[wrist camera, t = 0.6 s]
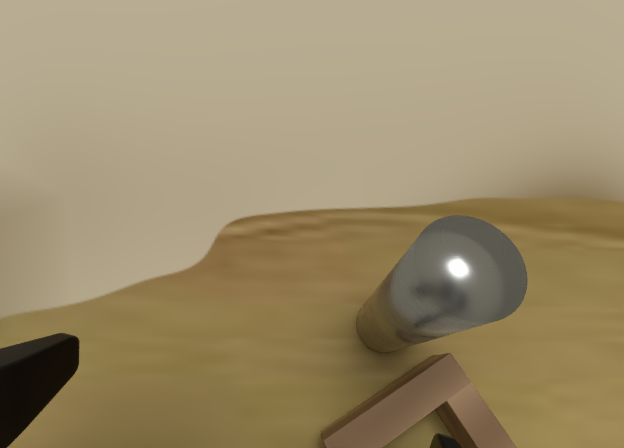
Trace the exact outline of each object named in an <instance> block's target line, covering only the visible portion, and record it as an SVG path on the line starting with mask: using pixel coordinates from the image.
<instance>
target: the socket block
mask: <svg viewBox="0 0 624 448" xmlns="http://www.w3.org/2000/svg"><path fill="white" fill-rule="evenodd" d="M435 409H436V411H437V412H438V414H439V415H440V417H441V419H442V420H443V422H444V423H445V425H446V426H447V428H448V430H449V431H450V433H451V434H452V436H453V437H454V438H455V439H456V440H457V441H458V442H459V444H460V445H461V446H462V447H463V448H517V447H516V446H515V444H514V443H513V441H512V440H511V438H510V437H509V436H508V434H507V433H506V431H505V430H504V429H503V427H502V426H501V424H500V423H499V421H498V420H497V419H496V417H495V416H494V414H493V413H492V411H491V410H490V409H489V407H488V406H487V404H486V403H485V401H484V400H483V399H482V397H481V396H480V394H479V393H478V391H477V390H476V389H475V387H474V386H473V384H472V383H471V381H470V380H469V379H468V377H467V376H466V374H465V373H464V371H463V370H462V369H461V367H460V366H459V364H458V363H457V362H456V360H455V359H454V357H453V356H452V354H451V353H447V354H441V355H434V356H431V357H430V358H428V359H427V360H425V361H424V362H422V363H421V364H419V365H418V366H416V367H415V368H413V369H412V370H410V371H409V372H408V373H406V374H405V375H403V376H402V377H400V378H399V379H397V380H396V381H394V382H393V383H391V384H390V385H388V386H387V387H386V388H384V389H383V390H381V391H380V392H378V393H377V394H375V395H374V396H372V397H371V398H369V399H368V400H366V401H365V402H364V403H362V404H361V405H359V406H358V407H356V408H355V409H353V410H352V411H350V412H349V413H347V414H346V415H344V416H343V417H342V418H340V419H339V420H337V421H336V422H334V423H333V424H331V425H330V426H328V427H327V428H325V429H324V430H323V431H321V434H322V438H323V442H324V444H325V446H326V448H383V447H384V446H385V445H387V444H388V443H389V442H391V441H392V440H394V439H395V438H396V437H398V436H399V435H400V434H402V433H403V432H405V431H406V430H407V429H409V428H410V427H411V426H413V425H414V424H415V423H417V422H418V421H420V420H421V419H422V418H424V417H425V416H426V415H428V414H429V413H430V412H432V411H433V410H435Z"/></svg>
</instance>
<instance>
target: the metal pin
mask: <svg viewBox="0 0 624 448" xmlns="http://www.w3.org/2000/svg"><path fill="white" fill-rule="evenodd" d="M526 289H527V272H526V267H525V264H524V261H523V259H522V257H521V255H520V253H519V251H518V249H517V248H516V246H515V245H514V244H513V243H512V241H511V240H510V239H509V238H508V237H507V236H506V235H505V234H504V233H502V232H501V231H500V230H499V229H497V228H496V227H494V226H493V225H491V224H489V223H487V222H485V221H482V220H480V219H477V218H473V217H469V216H448V217H444V218H441V219H438V220H436V221H434V222H433V223H431V224H430V225H428V226H427V227H426V228H425V229H424V230H423V232H422V233H421V234H420V235H419V237H418V238H417V239H416V240H415V242H414V243H413V244H412V245H411V247H410V248H409V249H408V250H407V252H406V253H405V254H404V255H403V257H402V258H401V259H400V260H399V262H398V263H397V264H396V265H395V267H394V268H393V269H392V270H391V272H390V273H389V274H388V275H387V277H386V278H385V279H384V280H383V282H382V283H381V284H380V285H379V287H378V288H377V289H376V290H375V292H374V293H373V294H372V295H371V297H370V298H369V299H368V300H367V302H366V303H365V304H364V305H363V307H362V308H361V309H360V311H359V313H358V316H357V321H356V326H357V331H358V334H359V336H360V338H361V340H362V341H363V342H364V343H365V344H366V345H367V346H368V347H369V348H371V349H373V350H375V351H378V352H391V351H394V350H398V349H401V348H405V347H408V346H412V345H415V344H419V343H422V342H425V341H429V340H432V339H436V338H439V337H443V336H446V335H450V334H453V333H456V332H460V331H463V330H467V329H470V328H474V327H477V326H481V325H484V324H488V323H491V322H494V321H498V320H500V319H503V318H505V317H507V316H509V315H510V314H512V313H513V312H514V311H515V310H516V309H517V308H518V307H519V306H520V304H521V303H522V301H523V299H524V296H525V294H526Z"/></svg>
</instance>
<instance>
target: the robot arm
mask: <svg viewBox="0 0 624 448" xmlns="http://www.w3.org/2000/svg"><path fill="white" fill-rule="evenodd" d="M78 365H79V339H78V337H76V336H73V335H69V334H66V333H58V334H54V335H51V336H47V337H43V338H39V339H35V340H32V341H28V342H24V343H20V344H16V345H13V346H9V347H5V348H1V349H0V448H7V447H8V446H9V445H10V444H11V443H12V442H13V441H14V440H15V439H16V438H17V437H18V436H19V435H20V434H21V433H22V432H23V431H24V430H25V429H26V428H27V426H28V425H29V424H30V423H31V422H32V421H33V420H34V419H35V418H36V417H37V415H38V414H39V413H40V412H41V411H42V410H43V409H44V408H45V406H46V405H47V404H48V403H49V402H50V401H51V400H52V399H53V397H54V396H55V395H56V394H57V393H58V392H59V391H60V390H61V388H62V387H63V386H64V385H65V384H66V383H67V382H68V381H69V380H70V378H71V377H72V376H73V375H74V374H75V372H76V370H77V368H78ZM430 448H463V447H462V446H461V445H460V444H459V442H458V441H457V440H456V439H455V438H453V437H450V436H446V435H443V434H435V436H434V437H433V440H432V443H431V446H430Z"/></svg>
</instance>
